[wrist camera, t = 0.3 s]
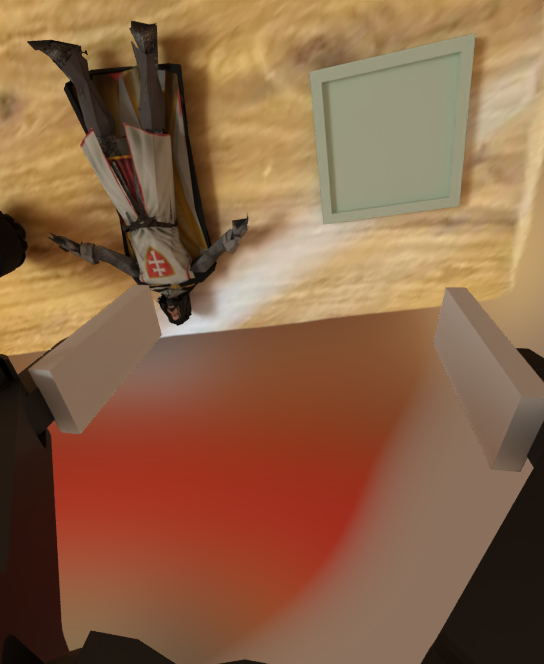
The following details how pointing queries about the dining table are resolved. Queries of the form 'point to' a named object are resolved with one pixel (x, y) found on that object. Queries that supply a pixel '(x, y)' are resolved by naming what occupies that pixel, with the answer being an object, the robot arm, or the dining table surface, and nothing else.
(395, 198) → the tray
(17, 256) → the filter
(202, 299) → the dining table surface
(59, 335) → the dining table surface
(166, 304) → the figurine
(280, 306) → the dining table surface
